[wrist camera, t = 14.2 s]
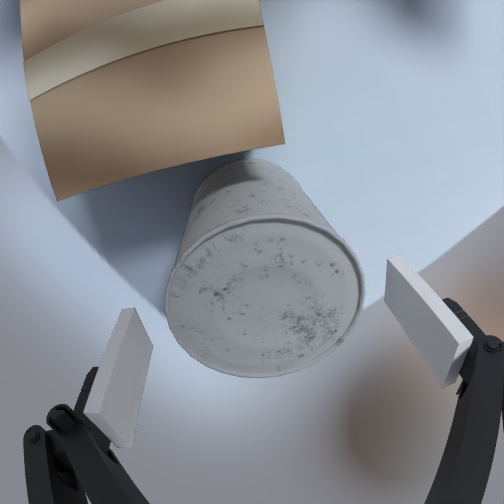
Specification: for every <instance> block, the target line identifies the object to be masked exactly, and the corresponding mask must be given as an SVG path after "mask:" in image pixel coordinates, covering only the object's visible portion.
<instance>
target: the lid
mask: <svg viewBox="0 0 504 504" xmlns="http://www.w3.org/2000/svg"><path fill="white" fill-rule="evenodd" d="M20 16H21V34H22V46H23V56H24V62H23V64H24V72H25V79H26V85H27V91H28V97H29V100H30V102H31V107H32V112H33V117H34V122H35V126H36V130H37V135H38V139H39V143H40V146H41V150H42V154H43V158H44V161H45V165H46V168H47V171H48V175H49V178H50V181H51V184H52V188H53V191H54V194H55V197H56V200H57V201H59V200H62V199H65V198H68V197H71V196H74V195H77V194H80V193H83V192H86V191H89V190H92V189H95V188H98V187H101V186H105V185H108V184H111V183H114V182H118V181H121V180H125V179H128V178H131V177H135V176H139V175H142V174H146V173H150V172H153V171H157V170H161V169H165V168H169V167H173V166H177V165H181V164H185V163H190V162H194V161H198V160H203V159H207V158H212V157H217V156H221V155H226V154H231V153H236V152H242V151H247V150H252V149H258V148H264V147H270V146H276V145H282V144H285V139H284V133H283V127H282V121H281V115H280V109H279V103H278V97H277V92H276V86H275V81H274V75H273V70H272V65H271V60H270V55H269V49H268V45H267V40H266V35H265V30H264V24H263V19H262V14H261V10H260V5H259V1H258V0H20Z"/></svg>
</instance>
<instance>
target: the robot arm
mask: <svg viewBox="0 0 504 504" xmlns="http://www.w3.org/2000/svg"><path fill="white" fill-rule="evenodd" d="M384 301H385V303H386V304H387V306H388V307H389V309H390V310H391V311H392V313H393V314H394V316H395V317H396V319H397V320H398V322H399V323H400V325H401V326H402V327H403V329H404V331H405V332H406V334H407V335H408V337H409V338H410V340H411V341H412V343H413V344H414V346H415V347H416V349H417V350H418V352H419V353H420V355H421V357H422V358H423V360H424V361H425V363H426V365H427V366H428V368H429V369H430V371H431V373H432V374H433V376H434V377H435V379H436V381H437V382H438V384H439V386H440V387H441V389H442V388H444V387H446V386H449V385H451V384H453V383H455V382H456V380H457V377H458V375H459V374H460V376H461V377H462V378H463V381H462V383H461V385H460V387H459V389H458V391H457V393H456V394H457V395H458V394H459V396H458V401H457V405H456V410H455V414H454V418H453V422H452V426H451V429H450V433H449V437H448V440H447V443H446V447H445V450H444V453H443V456H442V459H441V462H440V465H439V468H438V471H437V474H436V476H435V479H434V481H433V484H432V487H431V489H430V492H429V494H428V496H427V499H426V501H425V503H424V504H481V502H482V499H483V496H484V492H485V489H486V485H487V482H488V478H489V474H490V470H491V466H492V462H493V457H494V452H495V447H496V442H497V437H498V431H499V423H500V416H501V410H502V419H503V430H504V342H502V341H501V340H500V339H499V338H497V337H495V336H492V335H487V336H486V335H485V334H484V333H483V331H482V330H481V329H480V328H479V327H478V326H477V324H476V323H475V322H474V321H473V320H472V319H471V318H470V317H468V314H467V313H466V312H465V311H463V309H462V308H461V307H460V305H459V304H458V303H457V302H455V301H453V300H451V299H449V298H445V299H443V300H441V299H440V298H439V296H438V295H437V294H436V293H435V292H434V291H433V290H432V289H431V288H430V287H429V286H428V284H427V283H426V282H425V281H424V280H423V279H422V278H421V277H420V276H419V275H418V274H417V273H416V272H415V271H414V270H413V269H412V268H411V267H410V266H409V265H408V263H407V262H406V261H405V260H404V259H403V258H402V257H401V256H395V257H391V258H387V271H386V287H385V300H384ZM152 349H153V344H152V342H151V341H150V338H149V336H148V334H147V332H146V330H145V328H144V326H143V324H142V322H141V320H140V318H139V316H138V313H137V311H136V309H135V308H128V309H122V311H121V313H120V316H119V318H118V321H117V323H116V325H115V328H114V330H113V332H112V335H111V337H110V340H109V343H108V345H107V348H106V350H105V353H104V355H103V358H102V361H101V363H100V366H99V367H93V368H92V369H91V370H90V372H89V373H88V374H87V375H86V378H85V381H84V385H83V386H82V389H81V392H80V394H79V397H78V400H77V402H76V405H75V408H74V411H73V410H72V409H71V408H70V407H69V406H68V405H66V404H59V405H56V406H55V407H53V408H52V409H51V410H50V412H49V413H48V415H47V418H46V420H47V424H48V425H49V426H50V427H51V428H52V429H53V430H50V431H45V430H44V429H43V428H42V427H41V426H38V425H34V426H32V427H30V428H29V429H28V430H27V431H26V432H25V434H24V439H23V442H24V443H23V445H24V463H25V476H26V485H27V493H28V500H29V504H88V501H87V498H86V495H87V496H88V498H89V500H90V502H91V503H92V504H150V503H149V502H148V501H147V500H146V499H145V497H144V496H143V494H142V493H141V492H140V491H139V489H138V488H137V487H136V485H135V484H134V482H133V481H132V480H131V478H130V477H129V475H128V474H127V473H126V471H125V470H124V468H123V467H122V465H121V464H120V462H119V461H118V459H117V458H116V456H115V455H114V453H113V451H112V450H111V449H110V448H109V447H110V442H112V443H113V444H114V445H115V446H116V447H117V448H132V447H133V441H134V436H135V430H136V425H137V419H138V414H139V409H140V404H141V399H142V394H143V389H144V384H145V380H146V376H147V371H148V366H149V362H150V358H151V353H152ZM85 493H86V494H85Z"/></svg>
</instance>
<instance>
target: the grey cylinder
mask: <svg viewBox="0 0 504 504" xmlns="http://www.w3.org/2000/svg"><path fill="white" fill-rule="evenodd" d="M364 297H365V282H364V274H363V271H362V268H361V266H360V263H359V260H358V258H357V256H356V255H355V253H354V252H353V251H352V249H351V248H350V247H349V245H348V244H347V243H346V241H345V240H344V239H343V238H341V237H340V236H339V235H338V234H337V233H336V232H335V230H334V229H333V228H332V226H331V225H330V224H329V223H328V221H327V220H326V219H325V217H324V216H323V215H322V214H321V212H320V211H319V210H318V209H317V207H316V206H315V205H314V204H313V202H312V201H311V200H310V199H309V197H308V196H307V195H306V194H305V192H304V191H303V190H302V188H301V186H300V184H299V183H298V182H297V181H296V180H295V179H294V177H293V176H292V175H291V174H290V173H288V172H287V171H286V170H284V169H283V168H282V167H280V166H278V165H275V164H273V163H271V162H268V161H263V160H257V159H245V160H237V161H234V162H231V163H227V164H225V165H223V166H221V167H220V168H218V169H216V170H214V171H213V172H212V173H211V174H210V175H209V176H208V177H207V178H206V179H204V181H203V182H202V184H201V185H200V187H199V188H198V190H197V191H196V194H195V196H194V199H193V202H192V206H191V212H190V215H189V218H188V221H187V225H186V228H185V231H184V235H183V238H182V241H181V245H180V248H179V251H178V255H177V258H176V262H175V265H174V268H173V269H172V271H171V274H170V277H169V281H168V284H167V287H166V290H165V313H166V317H167V321H168V324H169V327H170V330H171V331H172V333H173V335H174V337H175V338H176V340H177V342H178V343H179V344H180V345H181V347H182V348H183V349H184V350H185V351H186V352H187V353H188V354H189V355H190V356H191V357H193V358H194V359H196V360H197V361H199V362H200V363H202V364H204V365H205V366H207V367H209V368H212V369H214V370H216V371H219V372H221V373H225V374H229V375H234V376H238V377H248V378H265V377H275V376H281V375H285V374H289V373H293V372H297V371H299V370H302V369H304V368H306V367H309V366H311V365H313V364H315V363H317V362H318V361H320V360H321V359H323V358H325V357H326V356H328V355H329V354H331V353H332V352H333V351H334V350H335V349H336V348H337V347H338V346H339V345H340V344H341V343H343V342H344V340H345V339H346V338H347V336H348V335H349V334H350V332H351V331H352V330H353V328H354V327H355V325H356V323H357V321H358V318H359V316H360V314H361V312H362V308H363V303H364Z"/></svg>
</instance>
